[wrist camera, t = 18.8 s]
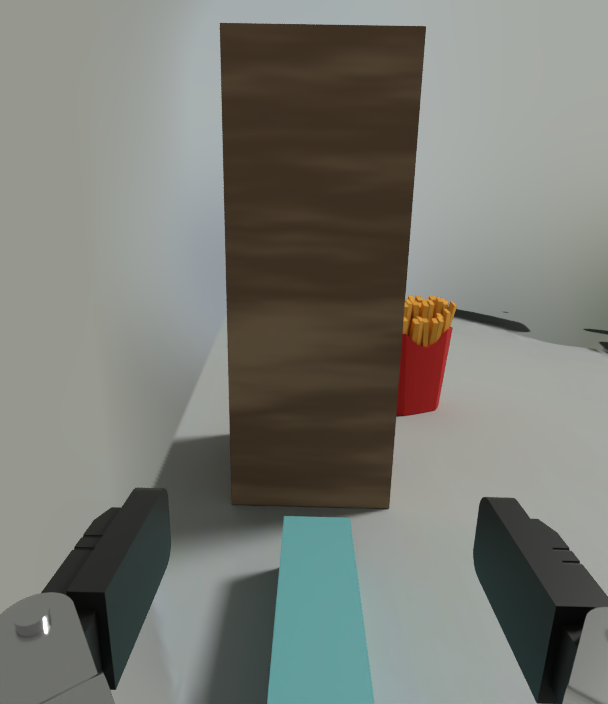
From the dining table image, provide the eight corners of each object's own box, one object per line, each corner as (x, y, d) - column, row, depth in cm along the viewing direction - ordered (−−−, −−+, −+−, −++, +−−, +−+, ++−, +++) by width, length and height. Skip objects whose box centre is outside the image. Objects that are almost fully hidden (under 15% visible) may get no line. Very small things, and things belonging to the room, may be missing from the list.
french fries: (389, 418, 52) (397, 302, 49) (368, 405, 56) (375, 296, 53) (453, 407, 56) (466, 298, 53) (430, 395, 60) (440, 293, 56)
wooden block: (388, 508, 36) (425, 26, 27) (231, 504, 36) (219, 23, 28) (368, 434, 48) (389, 87, 40) (252, 431, 49) (248, 85, 40)
